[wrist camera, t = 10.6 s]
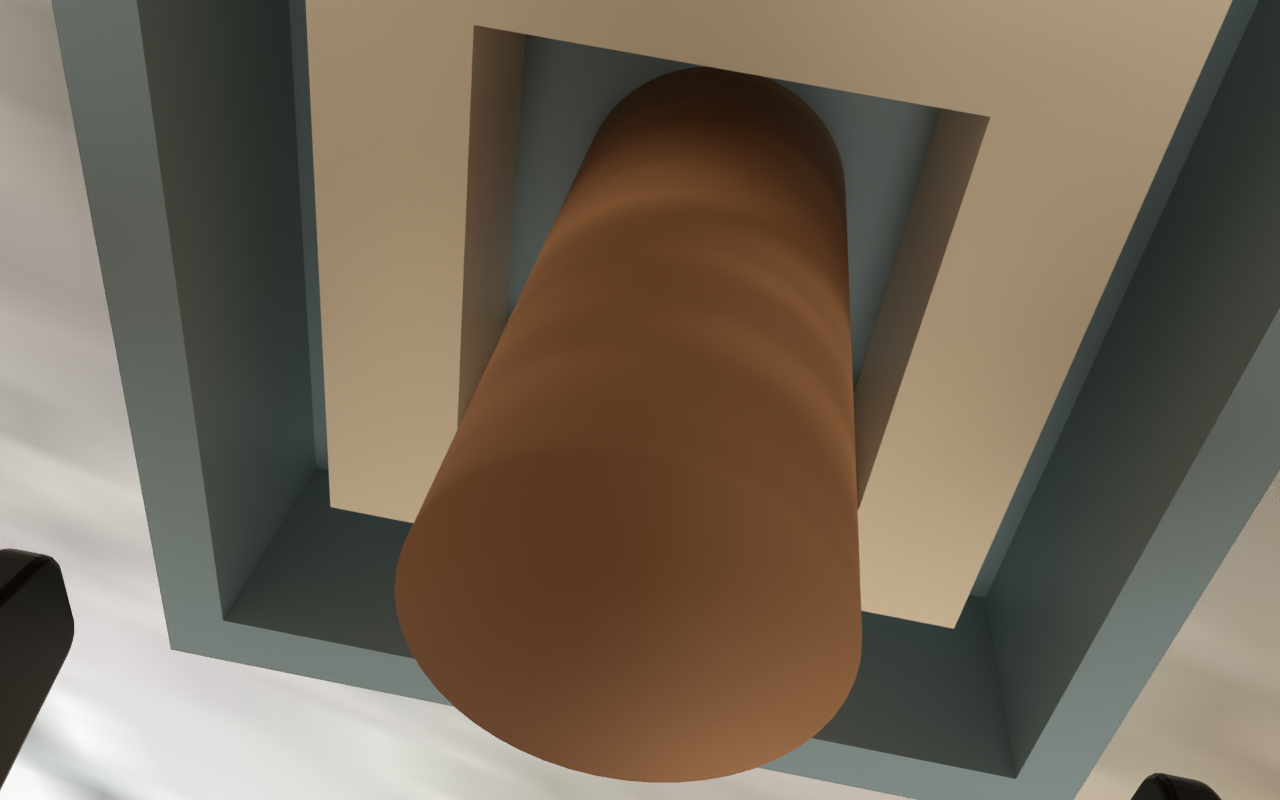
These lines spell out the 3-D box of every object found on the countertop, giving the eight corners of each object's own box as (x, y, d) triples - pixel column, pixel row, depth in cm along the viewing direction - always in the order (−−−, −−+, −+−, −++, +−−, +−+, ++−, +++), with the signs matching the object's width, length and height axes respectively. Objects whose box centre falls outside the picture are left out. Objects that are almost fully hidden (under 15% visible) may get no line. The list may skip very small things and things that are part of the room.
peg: (875, 94, 15) (923, 505, 8) (811, 331, 18) (802, 818, 10) (598, 43, 15) (395, 402, 8) (571, 285, 18) (393, 734, 10)
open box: (1498, -355, 12) (1789, -350, 8) (1016, 624, 21) (1056, 827, 18) (191, -563, 13) (-67, -645, 9) (279, 481, 22) (171, 649, 18)
